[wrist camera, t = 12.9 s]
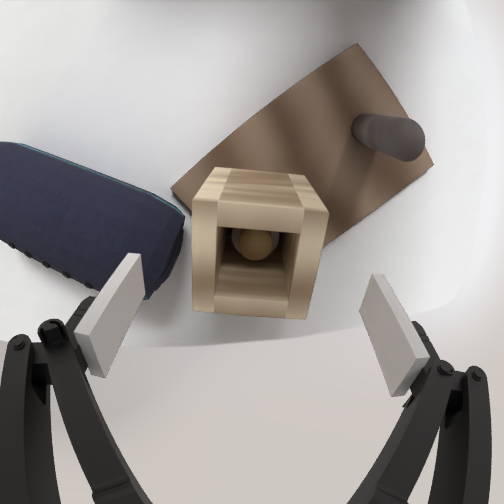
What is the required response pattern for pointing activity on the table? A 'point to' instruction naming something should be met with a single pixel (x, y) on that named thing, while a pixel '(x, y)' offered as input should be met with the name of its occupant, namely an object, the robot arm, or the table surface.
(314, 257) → the maple collar
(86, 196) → the portable speaker
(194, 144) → the table surface
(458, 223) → the table surface
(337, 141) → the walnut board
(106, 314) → the robot arm
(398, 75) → the table surface
